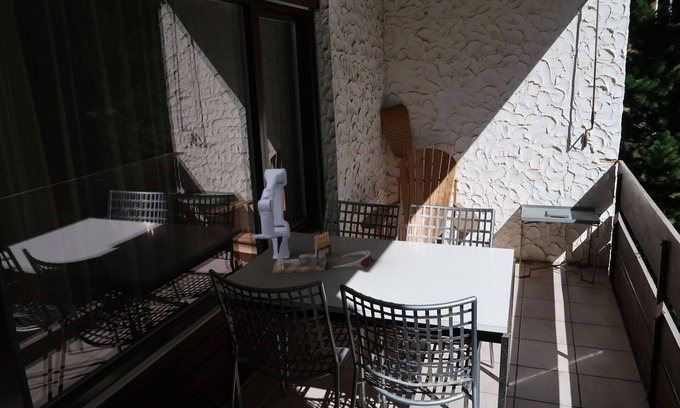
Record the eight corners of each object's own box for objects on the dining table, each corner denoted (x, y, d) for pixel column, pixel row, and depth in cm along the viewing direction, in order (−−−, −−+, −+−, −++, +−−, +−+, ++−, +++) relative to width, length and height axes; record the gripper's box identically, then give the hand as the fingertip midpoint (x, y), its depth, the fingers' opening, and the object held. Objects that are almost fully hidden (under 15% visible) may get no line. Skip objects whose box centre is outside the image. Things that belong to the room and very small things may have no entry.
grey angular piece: (277, 269, 255) (276, 261, 254) (279, 263, 264) (278, 255, 263) (298, 268, 255) (297, 260, 254) (299, 262, 264) (298, 254, 263)
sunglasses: (366, 270, 252) (364, 260, 251) (332, 274, 258) (330, 264, 258) (376, 257, 268) (374, 248, 267) (344, 261, 274) (341, 252, 273)
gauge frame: (272, 273, 255) (271, 261, 254) (275, 264, 267) (274, 252, 265) (325, 270, 255) (325, 257, 254) (326, 261, 267) (325, 249, 265)
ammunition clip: (317, 260, 270) (316, 236, 267) (314, 259, 271) (313, 235, 268) (331, 253, 278) (329, 230, 275) (328, 253, 279) (326, 230, 276)
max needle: (281, 269, 256) (281, 259, 255) (282, 268, 257) (281, 259, 256) (283, 269, 256) (282, 259, 255) (283, 268, 257) (283, 258, 256)
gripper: (251, 228, 248) (254, 257, 251) (284, 225, 250) (286, 254, 253) (251, 224, 255) (254, 253, 258) (283, 221, 257) (285, 250, 260)
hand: (270, 253), depth 256 cm, fingers open, 7 cm apart
